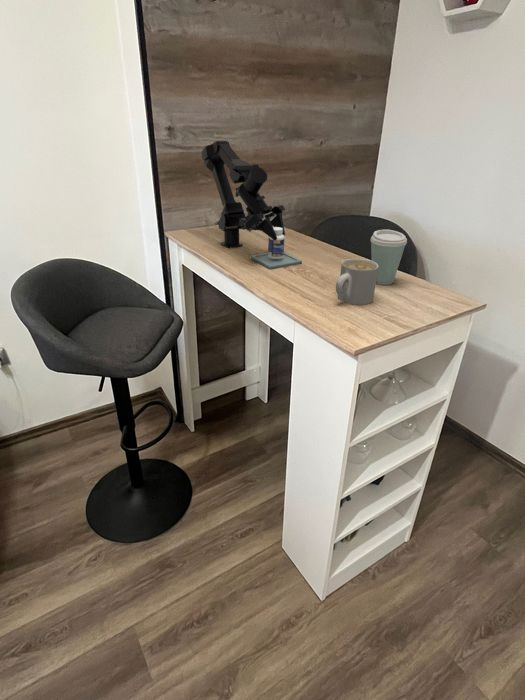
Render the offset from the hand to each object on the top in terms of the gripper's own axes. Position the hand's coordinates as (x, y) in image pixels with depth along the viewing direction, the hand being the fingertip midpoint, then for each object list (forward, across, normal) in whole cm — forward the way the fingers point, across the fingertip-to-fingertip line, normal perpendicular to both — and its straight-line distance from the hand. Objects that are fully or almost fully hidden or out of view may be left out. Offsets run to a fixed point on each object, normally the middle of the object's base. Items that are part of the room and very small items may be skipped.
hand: (280, 237), depth 143 cm
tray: (+5, 0, -7) cm, 8 cm away
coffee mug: (+29, +18, +17) cm, 38 cm away
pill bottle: (+4, 0, -6) cm, 7 cm away
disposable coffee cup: (+31, -1, +20) cm, 37 cm away
